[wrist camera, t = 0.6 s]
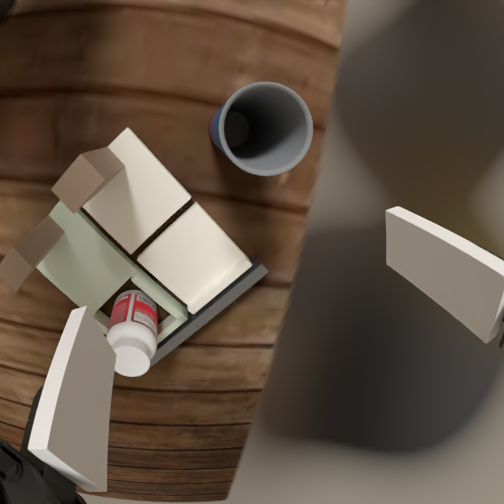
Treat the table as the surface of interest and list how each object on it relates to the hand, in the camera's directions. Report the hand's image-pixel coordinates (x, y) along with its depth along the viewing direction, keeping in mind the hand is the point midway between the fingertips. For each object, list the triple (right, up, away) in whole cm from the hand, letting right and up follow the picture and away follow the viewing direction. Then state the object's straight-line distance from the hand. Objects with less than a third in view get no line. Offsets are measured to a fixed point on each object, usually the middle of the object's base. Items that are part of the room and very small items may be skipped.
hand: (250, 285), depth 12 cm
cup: (-2, +16, +21) cm, 26 cm away
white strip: (-7, +1, +26) cm, 27 cm away
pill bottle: (-16, -6, +27) cm, 32 cm away
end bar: (-8, -7, +29) cm, 31 cm away
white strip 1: (-14, +8, +21) cm, 27 cm away
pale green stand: (-19, -2, +24) cm, 31 cm away
